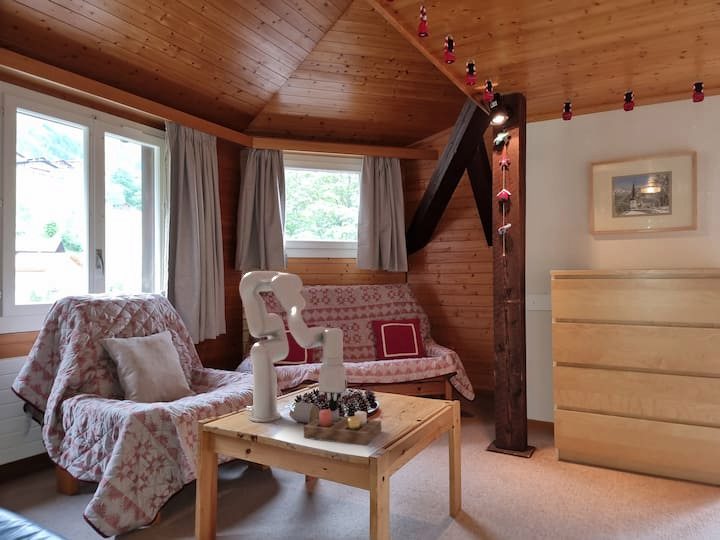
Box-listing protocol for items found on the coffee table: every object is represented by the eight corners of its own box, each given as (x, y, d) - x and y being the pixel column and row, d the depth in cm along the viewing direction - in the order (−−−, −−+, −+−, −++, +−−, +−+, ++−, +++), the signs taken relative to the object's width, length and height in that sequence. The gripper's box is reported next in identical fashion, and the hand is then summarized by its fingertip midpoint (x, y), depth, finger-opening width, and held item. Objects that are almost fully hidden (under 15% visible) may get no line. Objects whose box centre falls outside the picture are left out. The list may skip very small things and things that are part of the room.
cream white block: (352, 428, 188) (352, 413, 188) (357, 424, 192) (357, 410, 192) (364, 429, 186) (364, 414, 186) (368, 425, 190) (368, 411, 190)
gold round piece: (345, 433, 181) (345, 419, 181) (350, 430, 185) (350, 415, 185) (357, 435, 180) (357, 420, 180) (361, 431, 184) (361, 416, 184)
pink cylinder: (317, 426, 185) (317, 412, 185) (322, 423, 189) (322, 408, 189) (328, 427, 184) (328, 413, 184) (333, 424, 188) (333, 410, 188)
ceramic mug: (311, 426, 198) (311, 406, 198) (292, 423, 202) (292, 404, 202) (323, 419, 208) (323, 400, 208) (305, 417, 211) (306, 398, 211)
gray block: (325, 425, 192) (325, 411, 192) (330, 421, 196) (330, 408, 196) (336, 426, 190) (336, 412, 190) (340, 422, 194) (340, 409, 194)
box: (303, 437, 184) (303, 426, 184) (322, 425, 199) (322, 414, 199) (366, 445, 176) (366, 433, 176) (381, 431, 191) (381, 420, 191)
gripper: (310, 362, 192) (311, 411, 192) (347, 364, 187) (348, 414, 187) (319, 358, 199) (319, 406, 199) (355, 360, 194) (355, 409, 194)
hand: (333, 410), depth 193 cm, fingers closed
